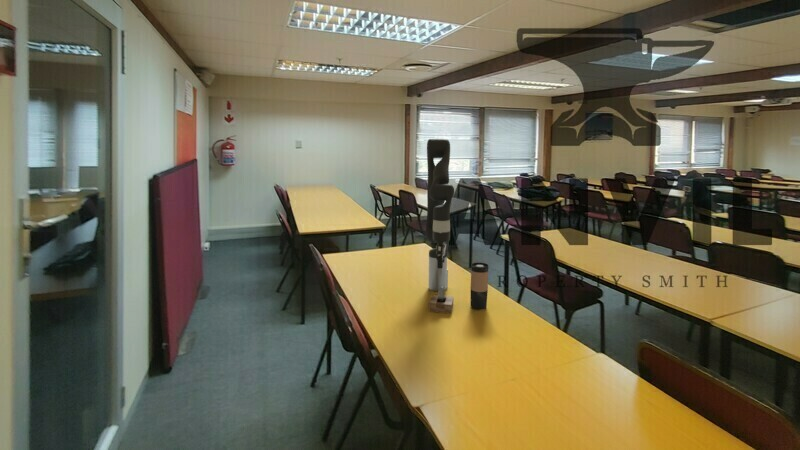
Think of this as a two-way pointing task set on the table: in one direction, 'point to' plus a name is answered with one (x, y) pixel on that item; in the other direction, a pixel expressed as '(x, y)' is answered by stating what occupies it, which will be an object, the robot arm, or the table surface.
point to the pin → (441, 294)
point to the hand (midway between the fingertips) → (441, 265)
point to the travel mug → (479, 285)
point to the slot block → (441, 304)
